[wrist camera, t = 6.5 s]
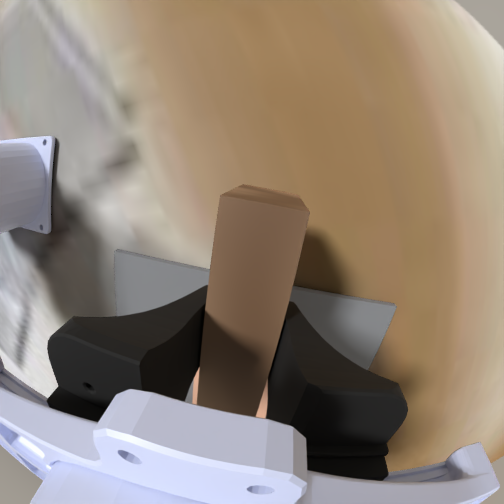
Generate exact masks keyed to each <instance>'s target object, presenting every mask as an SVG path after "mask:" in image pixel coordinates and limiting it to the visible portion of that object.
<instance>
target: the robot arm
mask: <svg viewBox="0 0 504 504" xmlns="http://www.w3.org/2000/svg"><path fill="white" fill-rule="evenodd" d="M46 141H47V143H46ZM54 147H55V138H54V137H53V136H43V137H30V138H20V139H11V140H3V141H0V234H1V233H3V232H6V231H9V230H11V229H14V228H17V227H21V228H25V229H28V230H32V231H36V232H40V233H43V234H48V233H50V232H51V185H52V169H53V157H54ZM207 290H208V285H205V286H203V287H201V288H199V289H198V290H196V291H194V292H192V293H190V294H188V295H186V296H184V297H182V298H180V299H178V300H176V301H173V302H171V303H169V304H167V305H164V306H161V307H158V308H155V309H152V310H149V311H145V312H140V313H135V314H130V315H124V316H115V317H75V316H74V317H72V318H71V319H70V320H69V321H68V322H67V323H65V324H64V325H63V326H62V327H61V328H60V329H58V330H57V331H56V332H55V333H54V334H53V335H52V336H51V337H50V339H49V340H48V347H47V350H48V355H49V360H50V363H51V366H52V369H53V372H54V375H55V377H56V380H57V383H58V387H57V389H56V390H55V391H54V392H53V393H52V394H51V396H50V397H49V398H46V397H45V396H43V395H42V394H40V393H38V392H37V391H35V390H34V389H32V388H31V387H29V386H28V385H26V384H25V383H24V382H22V381H21V380H19V379H18V378H17V377H15V376H14V375H12V374H11V373H10V372H8V371H7V370H6V369H5V368H4V365H3V362H2V359H1V357H0V444H1V446H3V447H4V448H5V449H6V450H7V451H8V452H9V453H10V454H11V455H12V456H14V457H15V458H16V459H17V460H18V461H19V462H20V463H22V464H23V465H24V466H25V467H27V468H28V469H29V470H30V471H31V472H33V473H34V474H35V475H37V476H38V477H39V478H41V479H42V480H43V482H42V484H41V486H40V487H39V489H38V491H37V492H36V494H35V496H34V497H33V499H32V500H31V502H30V504H479V503H481V502H482V501H484V500H485V499H486V498H488V497H489V496H490V495H492V494H493V493H494V492H495V491H497V490H498V489H499V487H500V485H499V482H498V480H497V477H496V475H495V473H494V470H493V468H492V466H491V463H490V461H489V459H488V457H487V455H486V453H485V451H484V448H483V446H482V444H481V442H478V443H474V444H471V445H467V446H464V447H461V448H459V449H458V450H456V451H455V452H453V453H452V454H451V455H450V456H449V457H448V458H447V460H446V461H445V462H441V463H437V464H432V465H428V466H423V467H418V468H412V469H407V470H400V471H393V472H388V469H387V465H386V461H385V457H384V456H386V455H387V454H388V447H387V442H388V441H389V439H390V438H391V437H392V436H393V435H394V433H395V432H396V431H397V430H398V428H399V427H400V426H401V424H402V423H403V421H404V420H405V418H406V416H407V412H408V407H407V403H406V400H405V398H404V396H403V393H402V391H401V389H400V387H399V385H398V383H396V382H393V381H391V380H388V379H386V378H383V377H381V376H378V375H376V374H374V373H372V372H370V371H368V370H366V369H364V368H362V367H360V366H359V365H357V364H355V363H354V362H352V361H351V360H349V359H348V358H346V357H345V356H343V355H342V354H341V353H339V352H338V351H337V350H336V349H334V348H333V347H332V346H331V345H330V344H329V343H328V342H326V341H325V340H324V339H323V338H322V337H321V335H320V334H319V333H318V332H317V331H316V330H315V329H314V328H313V327H312V325H311V324H310V323H309V322H308V320H307V319H306V318H305V316H304V315H303V314H302V312H301V311H300V310H299V308H298V307H297V305H296V304H295V303H294V302H291V301H289V303H288V307H287V311H286V315H285V318H284V322H283V326H282V329H281V333H280V337H279V340H278V344H277V348H276V351H275V355H274V358H273V362H272V365H271V369H270V372H269V375H268V402H267V412H266V419H265V418H259V417H253V416H247V415H241V414H236V413H231V412H226V411H221V410H217V409H212V408H208V407H204V406H200V405H196V404H192V403H188V402H185V400H186V397H187V394H188V391H189V388H190V386H191V384H192V381H193V379H194V377H195V375H196V373H197V371H198V369H199V367H200V357H201V346H202V336H203V326H204V317H205V308H206V299H207Z"/></svg>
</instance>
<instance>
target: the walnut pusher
mask: <svg viewBox="0 0 504 504" xmlns="http://www.w3.org/2000/svg"><path fill="white" fill-rule="evenodd" d="M309 214H310V212H309V210H308V209H307V207H306V206H305V204H304V203H303V201H302V200H301V198H300V197H299V195H297V194H292V193H287V192H282V191H277V190H272V189H266V188H261V187H255V186H250V185H244V184H243V185H241V186H239V187H237V188H235V189H232V190H230V191H228V192H226V193H224V194H222V195H220V201H219V207H218V214H217V221H216V228H215V235H214V243H213V250H212V258H211V265H210V273H209V282H208V290H207V299H206V308H205V317H204V326H203V336H202V346H201V357H200V369H199V381H198V393H197V405H200V406H204V407H208V408H212V409H217V410H221V411H226V412H231V413H236V414H241V415H247V416H253V417H256V414H257V411H258V408H259V405H260V402H261V399H262V395H263V392H264V389H265V385H266V382H267V379H268V375H269V372H270V369H271V365H272V362H273V358H274V355H275V351H276V348H277V344H278V340H279V337H280V333H281V329H282V326H283V322H284V318H285V315H286V311H287V307H288V303H289V299H290V295H291V291H292V287H293V283H294V279H295V275H296V271H297V267H298V263H299V258H300V254H301V250H302V246H303V241H304V237H305V232H306V228H307V223H308V219H309Z"/></svg>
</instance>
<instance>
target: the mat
mask: <svg viewBox="0 0 504 504" xmlns="http://www.w3.org/2000/svg"><path fill="white" fill-rule="evenodd" d="M114 268H115V297H116V313H117V316H124V315H130V314H135V313H140V312H145V311H149V310H152V309H155V308H158V307H161V306H164V305H167V304H169V303H171V302H173V301H176V300H178V299H180V298H182V297H184V296H186V295H188V294H190V293H192V292H194V291H196V290H198V289H199V288H201V287H203V286H205V285H208V282H209V273H210V269H206V268H201V267H196V266H191V265H187V264H182V263H177V262H173V261H168V260H164V259H159V258H155V257H150V256H146V255H141V254H137V253H132V252H128V251H124V250H120V249H117V250H116V251H114ZM289 301H291V302H294V303H295V304H296V305H297V307H298V308H299V310H300V311H301V312H302V314H303V315H304V316H305V318H306V319H307V320H308V322H309V323H310V324H311V325H312V327H313V328H314V329H315V330H316V331H317V332H318V333H319V334H320V335H321V337H322V338H323V339H324V340H325V341H326V342H328V343H329V344H330V345H331V346H332V347H333V348H334V349H336V350H337V351H338V352H339V353H341V354H342V355H343V356H345V357H346V358H348V359H349V360H351V361H352V362H354V363H355V364H357V365H359V366H360V367H362V368H364V369H366V370H368V369H369V367H370V365H371V363H372V361H373V359H374V357H375V355H376V353H377V351H378V349H379V346H380V344H381V342H382V340H383V338H384V336H385V333H386V331H387V329H388V326H389V324H390V322H391V319H392V317H393V315H394V312H395V310H396V307H397V306H396V305H395V304H394V303H389V302H383V301H376V300H370V299H364V298H359V297H353V296H347V295H341V294H335V293H330V292H324V291H319V290H313V289H307V288H302V287H297V286H293V287H292V291H291V295H290V299H289ZM193 384H194V379H193V381H192V384H191V386H190V388H189V391H188V394H187V397H186V400H185V402H188V403H192V400H193ZM265 419H266V417H265Z"/></svg>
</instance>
